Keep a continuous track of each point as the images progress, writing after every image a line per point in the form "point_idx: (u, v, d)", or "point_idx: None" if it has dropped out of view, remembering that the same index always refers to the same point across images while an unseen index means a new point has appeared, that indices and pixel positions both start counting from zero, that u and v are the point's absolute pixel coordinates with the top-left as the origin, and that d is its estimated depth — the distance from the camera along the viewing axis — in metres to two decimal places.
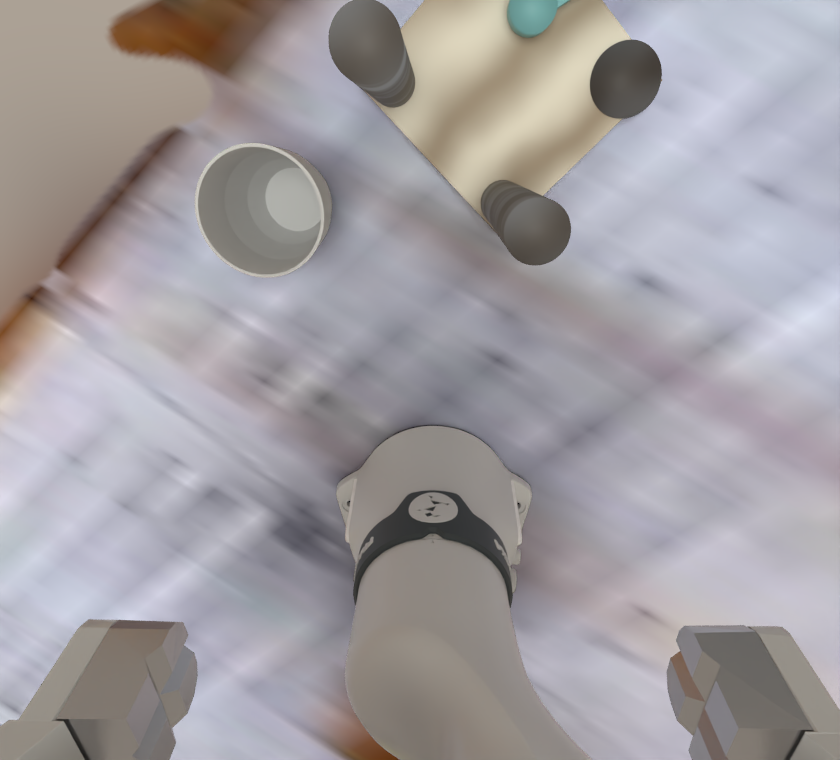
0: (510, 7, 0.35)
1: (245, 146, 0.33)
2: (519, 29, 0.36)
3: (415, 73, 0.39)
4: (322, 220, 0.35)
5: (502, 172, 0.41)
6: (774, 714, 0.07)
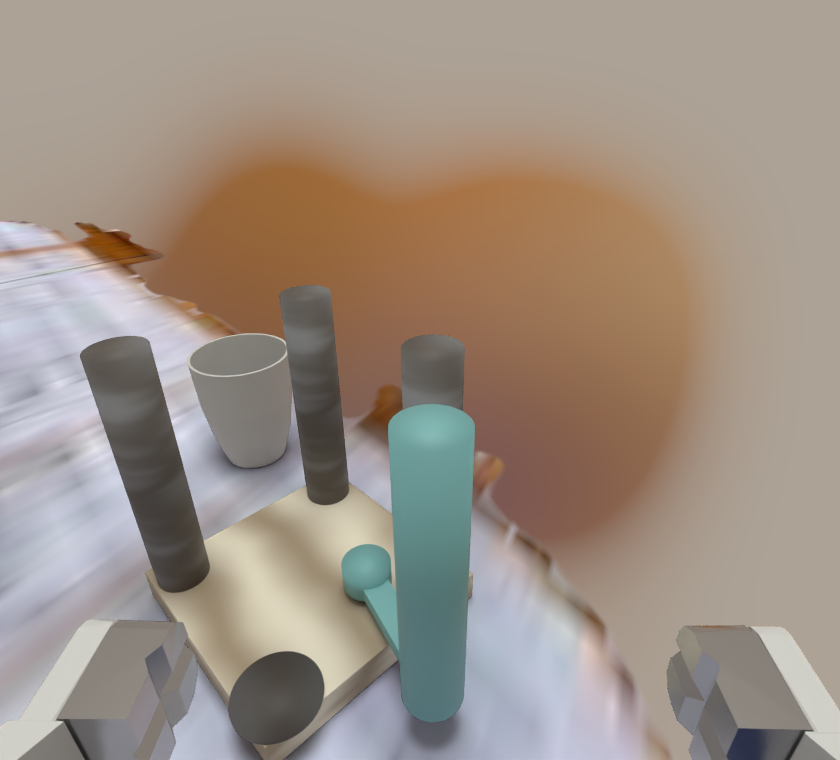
0: (367, 545, 0.35)
1: (286, 351, 0.46)
2: None
3: (331, 505, 0.41)
4: (217, 375, 0.43)
5: (216, 571, 0.36)
6: (774, 714, 0.07)
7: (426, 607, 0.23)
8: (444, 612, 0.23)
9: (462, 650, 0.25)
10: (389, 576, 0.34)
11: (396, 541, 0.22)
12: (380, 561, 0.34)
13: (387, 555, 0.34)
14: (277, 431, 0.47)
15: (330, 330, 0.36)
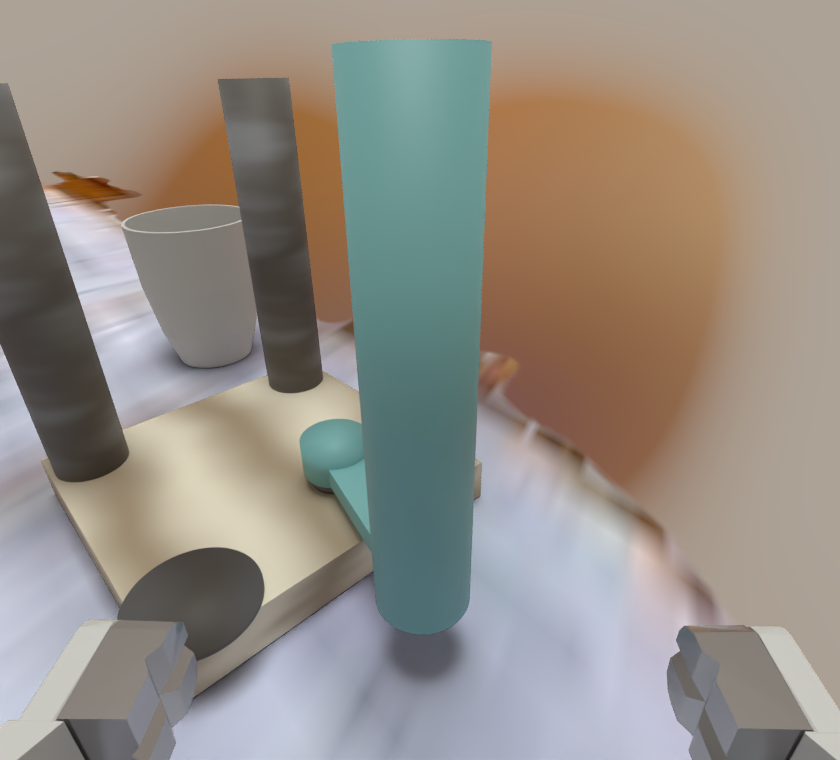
0: (337, 420, 0.26)
1: None
2: None
3: (298, 393, 0.32)
4: (155, 232, 0.33)
5: (136, 460, 0.27)
6: (774, 714, 0.07)
7: (407, 417, 0.14)
8: (437, 427, 0.14)
9: (467, 514, 0.16)
10: None
11: (354, 295, 0.13)
12: (353, 435, 0.24)
13: None
14: (237, 319, 0.38)
15: (289, 133, 0.26)
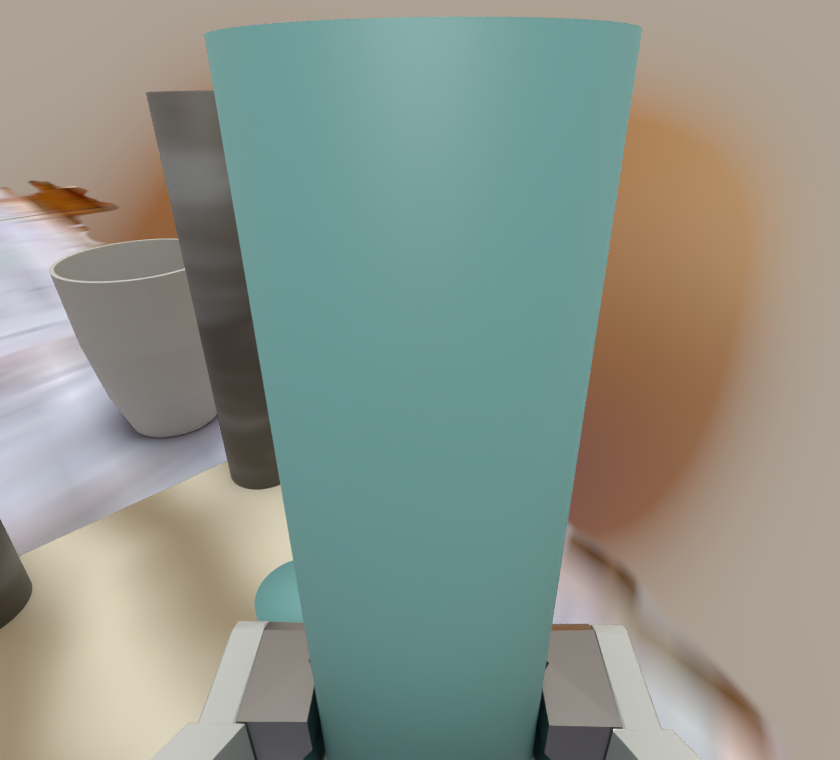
0: None
1: None
2: None
3: (267, 489, 0.25)
4: (88, 281, 0.27)
5: (39, 606, 0.20)
6: (591, 711, 0.07)
7: None
8: None
9: None
10: None
11: (296, 573, 0.06)
12: None
13: None
14: (198, 380, 0.31)
15: None
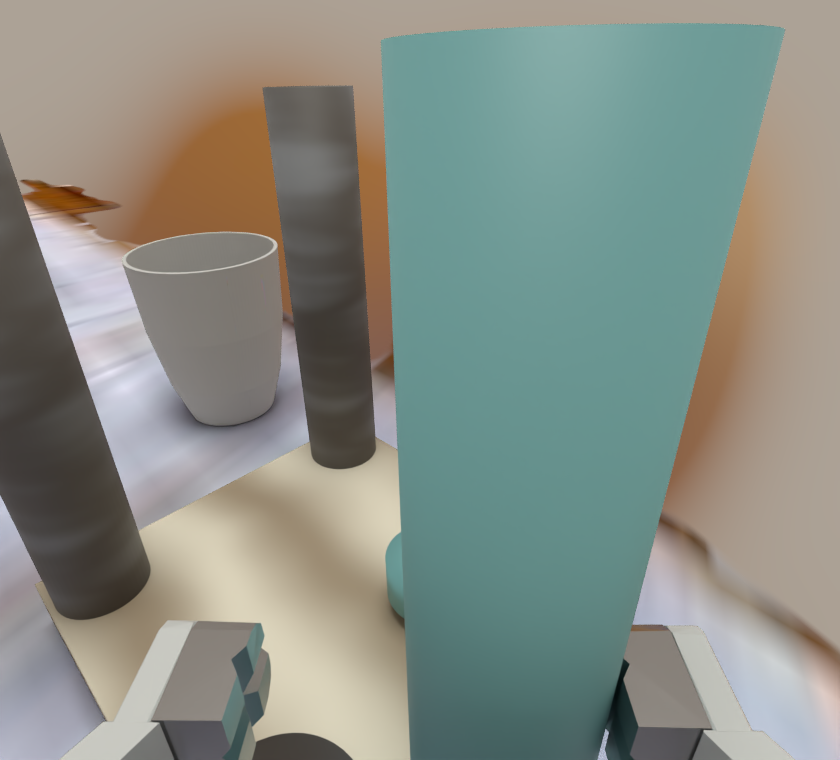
0: None
1: (274, 248, 0.31)
2: None
3: (351, 469, 0.26)
4: (167, 272, 0.27)
5: (161, 580, 0.21)
6: (678, 713, 0.07)
7: (463, 732, 0.07)
8: None
9: None
10: None
11: (400, 505, 0.07)
12: None
13: None
14: (262, 369, 0.32)
15: (353, 156, 0.21)
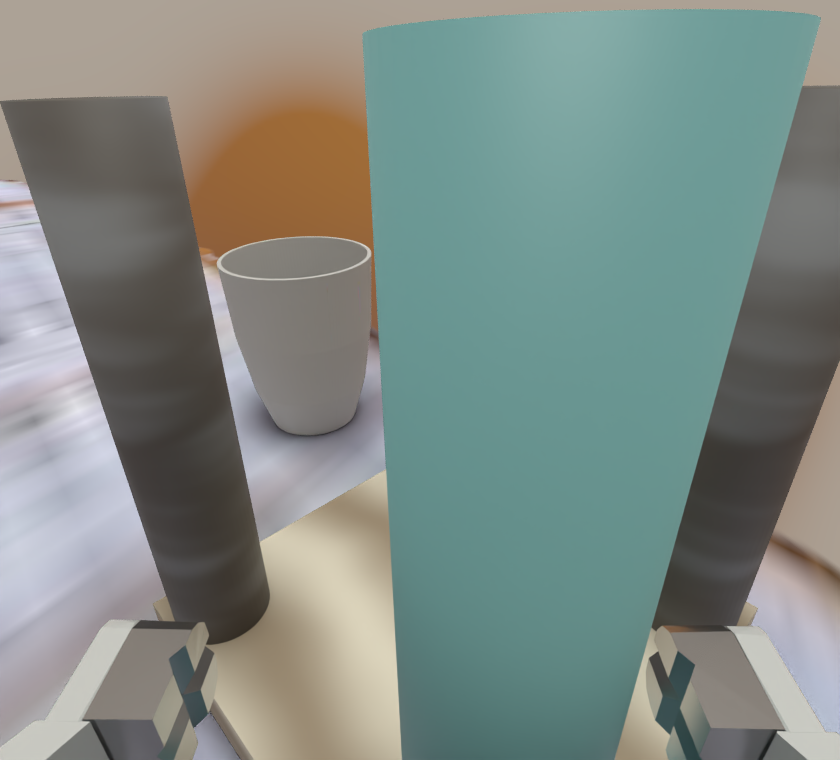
0: None
1: (368, 254, 0.30)
2: None
3: None
4: (268, 279, 0.26)
5: (283, 603, 0.20)
6: (747, 714, 0.07)
7: (406, 722, 0.07)
8: None
9: None
10: None
11: None
12: None
13: None
14: (351, 378, 0.31)
15: None
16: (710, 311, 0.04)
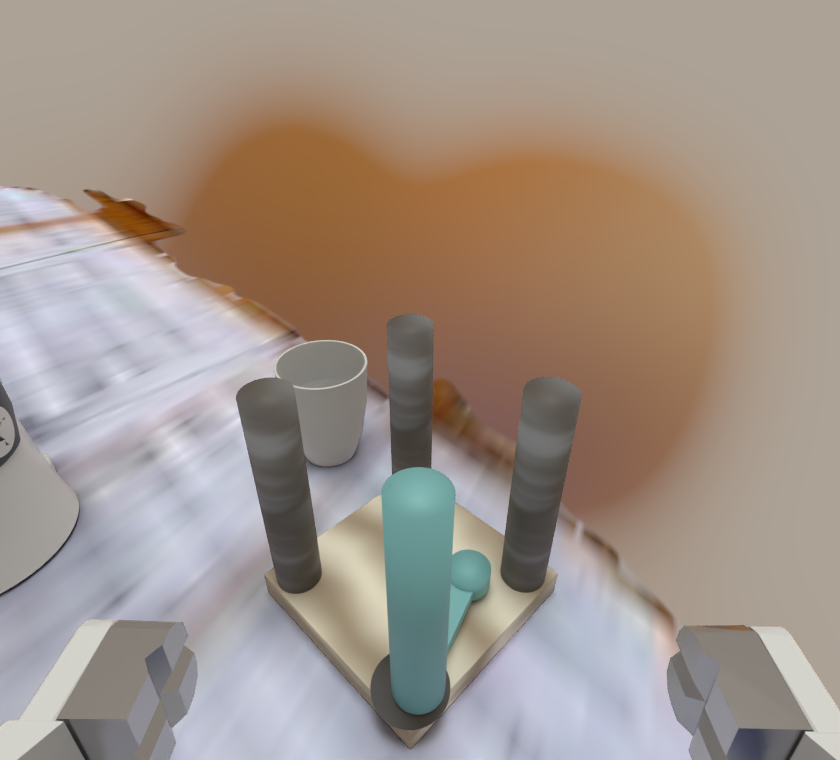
0: (484, 557, 0.39)
1: (365, 361, 0.49)
2: None
3: None
4: (308, 388, 0.46)
5: (328, 573, 0.40)
6: (775, 714, 0.07)
7: (389, 615, 0.28)
8: (399, 630, 0.28)
9: (420, 674, 0.29)
10: (476, 591, 0.37)
11: None
12: (478, 575, 0.37)
13: (487, 576, 0.37)
14: (355, 434, 0.51)
15: (431, 357, 0.39)
16: (438, 544, 0.24)
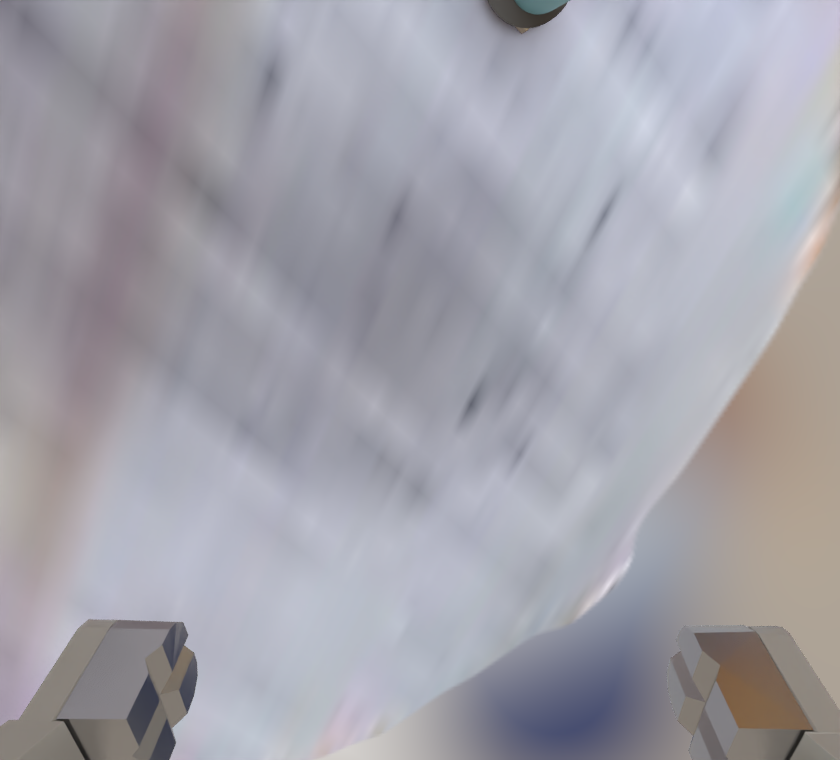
0: None
1: None
2: None
3: None
4: None
5: None
6: (774, 714, 0.07)
7: None
8: None
9: (556, 4, 0.25)
10: None
11: None
12: None
13: None
14: None
15: None
16: None
